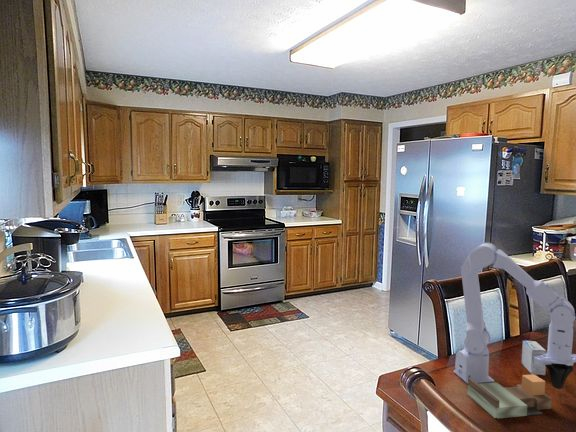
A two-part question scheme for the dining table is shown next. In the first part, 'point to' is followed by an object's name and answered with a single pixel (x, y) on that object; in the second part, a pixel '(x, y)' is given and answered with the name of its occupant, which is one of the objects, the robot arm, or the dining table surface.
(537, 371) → the medicine box
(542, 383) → the orange block
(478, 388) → the board
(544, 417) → the dining table surface
